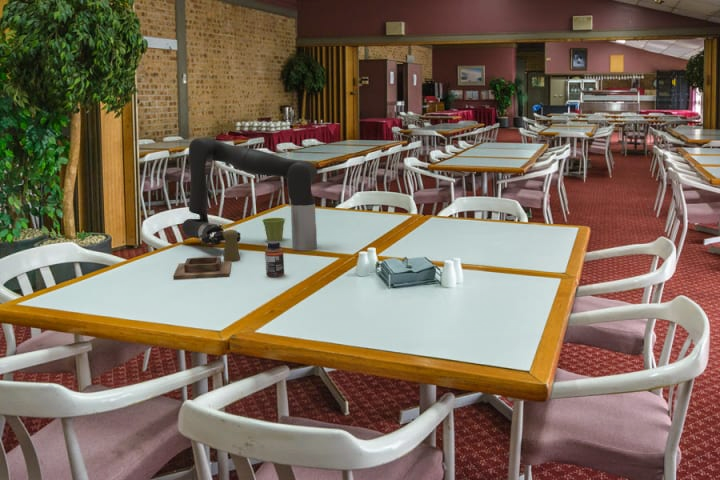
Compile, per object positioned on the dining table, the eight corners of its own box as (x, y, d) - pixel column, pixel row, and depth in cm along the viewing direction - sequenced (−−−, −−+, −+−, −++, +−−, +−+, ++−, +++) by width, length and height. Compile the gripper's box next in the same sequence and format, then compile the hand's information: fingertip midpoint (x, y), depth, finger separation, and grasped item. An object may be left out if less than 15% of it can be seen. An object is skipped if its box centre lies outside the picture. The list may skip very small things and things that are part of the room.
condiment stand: (231, 264, 264) (230, 254, 264) (229, 276, 247) (228, 265, 246) (179, 266, 262) (178, 256, 261) (173, 279, 245) (172, 268, 244)
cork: (236, 262, 268) (235, 231, 266) (221, 261, 269) (219, 231, 267) (242, 258, 274) (241, 228, 271) (227, 257, 275) (225, 228, 273)
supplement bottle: (274, 272, 252) (273, 239, 250) (288, 274, 249) (286, 241, 246) (262, 276, 247) (260, 242, 245) (276, 278, 244) (274, 244, 242)
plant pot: (258, 242, 302) (257, 220, 300) (270, 237, 310) (269, 217, 309) (279, 243, 298) (278, 222, 297) (290, 239, 307) (289, 218, 305)
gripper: (192, 226, 282) (208, 232, 268) (228, 222, 289) (245, 228, 276) (193, 245, 283) (209, 253, 270) (229, 241, 290) (246, 248, 277)
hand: (227, 240), depth 273 cm, fingers open, 8 cm apart
